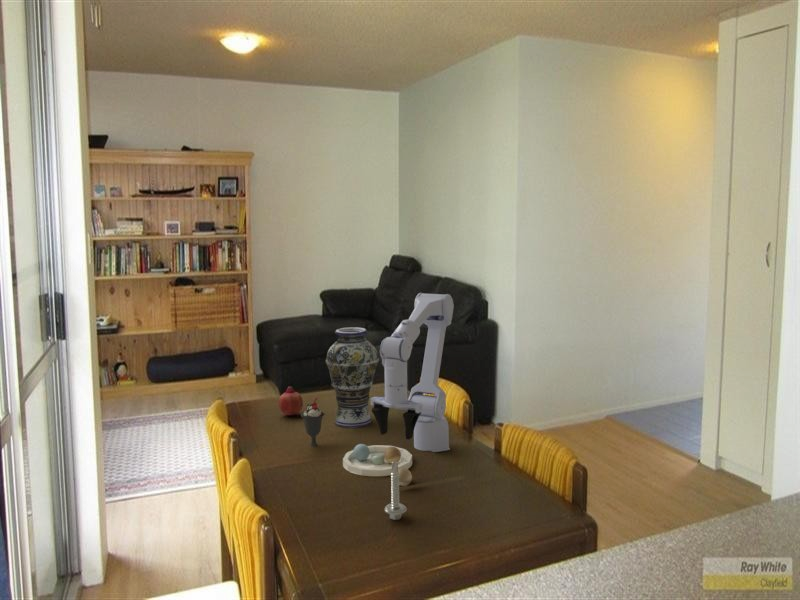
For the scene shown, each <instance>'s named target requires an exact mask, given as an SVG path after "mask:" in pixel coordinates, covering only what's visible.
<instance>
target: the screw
mask: <svg viewBox="0 0 800 600" xmlns="http://www.w3.org/2000/svg"><path fill="white" fill-rule="evenodd" d="M398 473H399V471H398V462H396V461H393V462H392V473H391V474H392V475H390V477H391V478H390V482H391V483H390V488H391V489H390V490H391V491H390V495H391V496H390V500H391V501H390V503H388V504H387V505H385V507H384V513H386V514H389V519H390V520H393V521H397V520H398V521H399V520H400V519H401V518H402V515H403V514H404V513H405V512H407V506H406V505H404V504H403V503H401V502H400V485H399V474H398Z"/></svg>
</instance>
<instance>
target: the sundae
mask: <svg viewBox="0 0 800 600" xmlns="http://www.w3.org/2000/svg"><path fill="white" fill-rule="evenodd" d="M316 401H318V397H316V398H315V399H314V401H313V402H312V403H310V404H309V403H307V405H306V409H305V411H303V412H301V413H300V416H301V418H303V421H304V427H305V432H306V434H307V435H308V436H310V438H311V443H310V445H309V447H313V448H315V447H318V446H319V444H318V443H317V439H316V437H317V436H318V435H319V434H320V432H321V430H322V419H323V417H324V416H325V415H326V413H325V412H323V411H322V410H321V409H320V407H319V405H317V404H318V403H317V402H316Z"/></svg>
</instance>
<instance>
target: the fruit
mask: <svg viewBox="0 0 800 600" xmlns="http://www.w3.org/2000/svg"><path fill="white" fill-rule="evenodd" d="M303 401H304V400H303V397H302V395H301V394H300V393H299V392H298V391H297V392H296V391H295V389H294V388H293V387H292V386H291V385H290V386H288V387H287V389H286V391H285V392H283V393H282V394H281V395H280V396H279V398H278V402H277V403H278V404H277V405H278V408H279V410H280V412H281V413H283V415H287V416H290V415H291V416H294V415H296V414H299V413H300V411H302V408H303V407H304V403H303ZM291 416H290V417H291Z"/></svg>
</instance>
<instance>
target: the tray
mask: <svg viewBox="0 0 800 600" xmlns="http://www.w3.org/2000/svg"><path fill="white" fill-rule="evenodd" d="M366 446H367V447H368V448H369V451H370V454H369V457H368V458H367V459H366V460H363V461H359V460H357V459H356V458H355V457H354V455H353V450H354V449H352V450H349V451H347V452H345V454H344V457H342V467H343V468H344V469H345V470H346V471H348V472H349V473H352V474H355V475H357V476H365V477H387V476H391V475H392V474H391V473H392V464H390V463H388V462H387V461H386V460H385V458H384V453H385V451H386V449H387V448H389V447H396V448H398V449H399V451H400V453H401V458H400V460H399V461H398V469H400V468H406V469H408V470H409V469H410V468H411V467H412V465H413V454H411V453H410V451H408V450H407V449H405V448H402V447H398V446H393V445H379V444H378V445H377V444H375V445H374V444H373V445H372V444H371V445H366Z"/></svg>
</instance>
